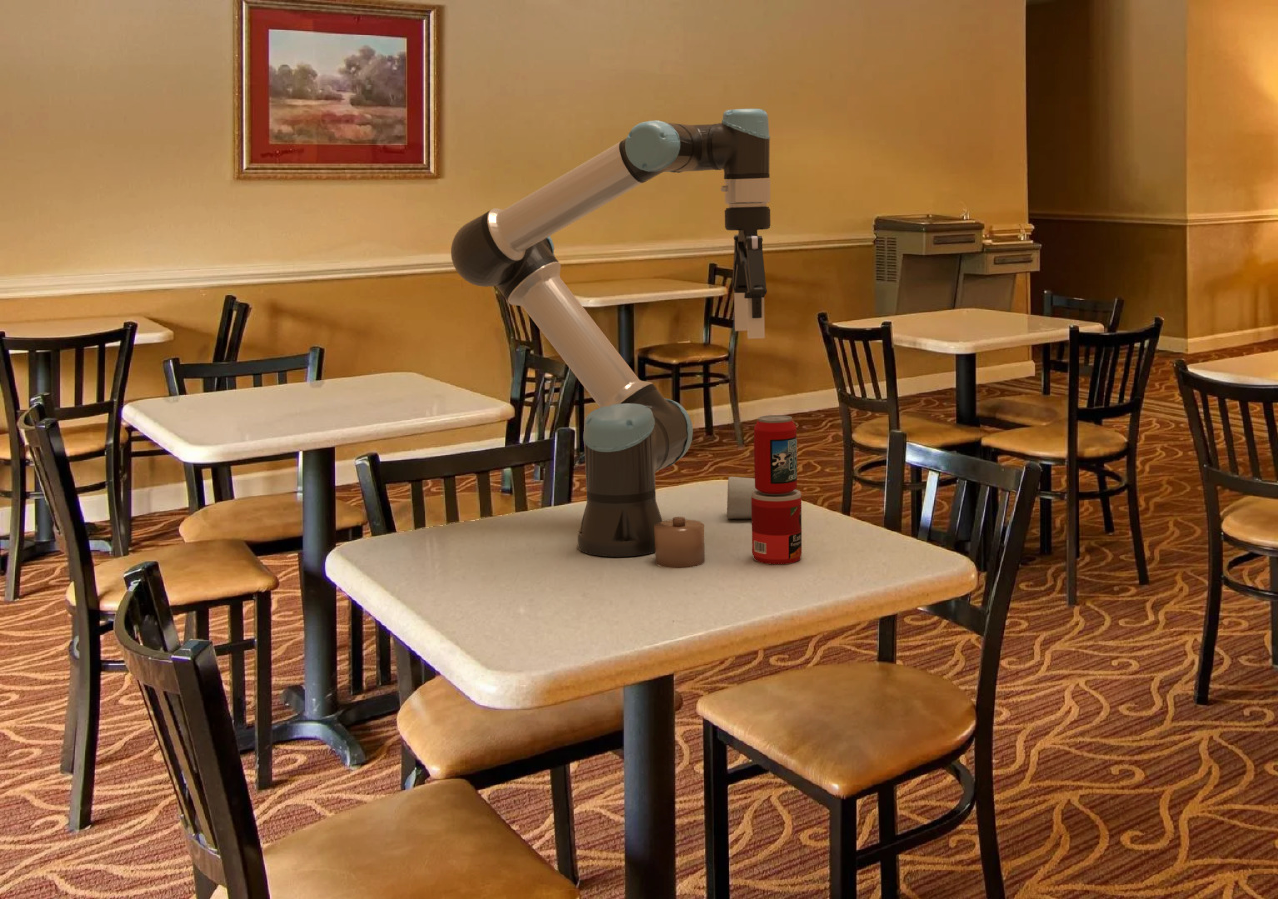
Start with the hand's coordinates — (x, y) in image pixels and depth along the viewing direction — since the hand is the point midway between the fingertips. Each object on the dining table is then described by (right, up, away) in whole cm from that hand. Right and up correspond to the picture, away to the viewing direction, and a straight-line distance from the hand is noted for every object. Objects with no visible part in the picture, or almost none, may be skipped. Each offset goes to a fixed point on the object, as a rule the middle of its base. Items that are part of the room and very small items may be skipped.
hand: (749, 334), depth 221 cm
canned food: (+4, -37, -9) cm, 38 cm away
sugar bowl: (-12, -37, -9) cm, 40 cm away
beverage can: (+3, -26, -11) cm, 29 cm away
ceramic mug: (+1, -32, +20) cm, 38 cm away
